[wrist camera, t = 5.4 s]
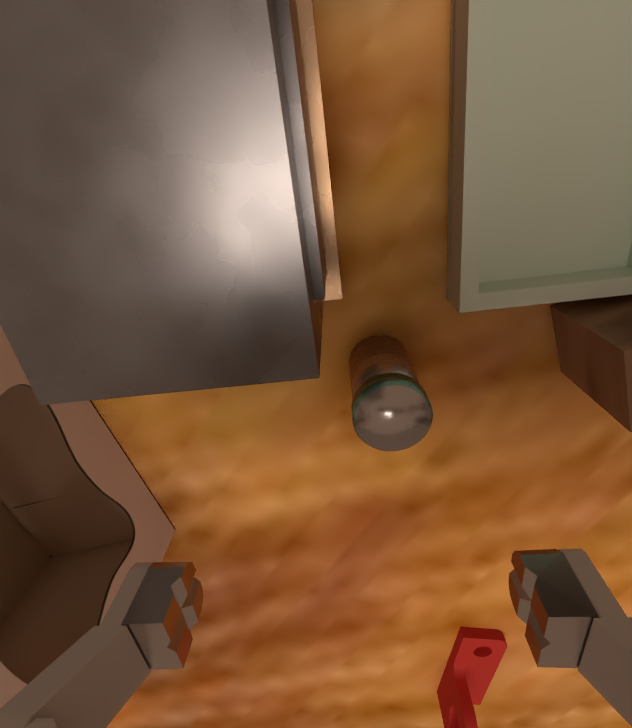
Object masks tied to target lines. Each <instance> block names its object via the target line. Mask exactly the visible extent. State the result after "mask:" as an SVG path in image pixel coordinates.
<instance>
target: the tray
mask: <svg viewBox="0 0 632 728" xmlns="http://www.w3.org/2000/svg"><path fill="white" fill-rule="evenodd" d="M630 294H632V0H451V45H450V111H449V176H448V242H447V300H448V301H449V302H450V303H451V304H452V305H453V306H454V307H455V308H456V310H457V311H458V312H459V313H464V312H473V311H483V310H492V309H501V308H510V307H520V306H529V305H538V304H547V303H556V302H566V301H575V300H584V299H593V298H602V297H612V296H621V295H630Z"/></svg>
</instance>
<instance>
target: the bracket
mask: <svg viewBox="0 0 632 728" xmlns="http://www.w3.org/2000/svg"><path fill="white" fill-rule="evenodd" d="M506 648H507V644H506V641H505V638H504V636H503V633H502V632H501V631H499V630H496V629H483V628H469V627H460V629H459V632H458V635H457V638H456V640H455V643H454V646H453V649H452V651H451V654H450V657H449V660H448V662H447V665H446V668H445V670H444V673H443V676H442V679H441V681H440V684H439V687H438V690H437V694H438V699H439V704H440V709H441V714H442V719H443V723H444V728H478V726H477V721H476V716H475V711H474V707H473V704H476V705H480V704H481V701H482V699H483V697H484V695H485V693H486V691H487V689H488V686H489V684H490V682H491V680H492V678H493V676H494V674H495V672H496V669H497V667H498V665H499V663H500V661H501V659H502V657H503V655H504V652H505V650H506Z"/></svg>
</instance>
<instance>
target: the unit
mask: <svg viewBox="0 0 632 728" xmlns="http://www.w3.org/2000/svg"><path fill="white" fill-rule="evenodd" d="M336 299H342V290H341V280H340V270H339V260H338V250H337V241H336V231H335V221H334V211H333V201H332V192H331V182H330V172H329V162H328V152H327V143H326V133H325V123H324V113H323V103H322V94H321V84H320V74H319V64H318V54H317V45H316V35H315V25H314V15H313V5H312V0H0V325H1V327H2V329H3V331H4V333H5V335H6V337H7V339H8V341H9V343H10V345H11V347H12V349H13V351H14V353H15V355H16V357H17V359H18V361H19V363H20V365H21V367H22V369H23V371H24V373H25V375H26V377H27V379H28V381H29V383H30V385H31V387H32V389H33V391H34V393H35V395H36V397H37V399H38V401H39V403H40V405H48V404H59V403H69V402H79V401H89V400H100V399H110V398H120V397H130V396H140V395H151V394H161V393H171V392H181V391H192V390H202V389H212V388H222V387H232V386H243V385H253V384H263V383H273V382H284V381H294V380H304V379H314V378H319V375H320V356H321V338H322V319H323V301H327V300H336Z"/></svg>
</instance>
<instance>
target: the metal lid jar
mask: <svg viewBox="0 0 632 728" xmlns="http://www.w3.org/2000/svg"><path fill="white" fill-rule="evenodd" d="M349 368H350V379H351V389H352V419H353V426H354V429H355V431H356V433H357V435H358V436H359V437H360V438H361V439H362V440H363V441H364V442H365V443H367V444H368V445H370V446H371V447H373V448H376V449H379V450H384V451H398V450H403V449H406V448H409V447H411V446H413V445H415V444H416V443H418V442H419V441H420V440H421V439H422V438H423V437H424V436H425V435H426V433H427V432H428V430H429V428H430V426H431V423H432V417H433V413H432V407H431V404H430V402H429V400H428V397H427V395H426V393H425V390H424V389H423V387H422V386H421V385H420V383H419V381H418V378H417V376H416V373H415V371H414V369H413V366H412V364H411V361H410V359H409V357H408V354H407V352H406V349H405V348H404V346H403V345H402V344H401V343H400V342H399V341H397V340H396V339H394V338H392V337H389V336H385V335H376V336H371V337H368V338H366V339H364V340H362V341H361V342H359V343H358V344H357V345H356V346H355V348H354V349H353V351H352V353H351V355H350V359H349Z"/></svg>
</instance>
